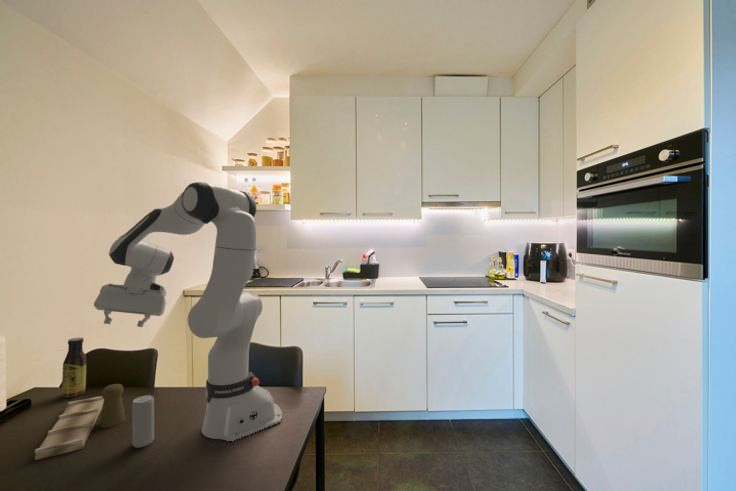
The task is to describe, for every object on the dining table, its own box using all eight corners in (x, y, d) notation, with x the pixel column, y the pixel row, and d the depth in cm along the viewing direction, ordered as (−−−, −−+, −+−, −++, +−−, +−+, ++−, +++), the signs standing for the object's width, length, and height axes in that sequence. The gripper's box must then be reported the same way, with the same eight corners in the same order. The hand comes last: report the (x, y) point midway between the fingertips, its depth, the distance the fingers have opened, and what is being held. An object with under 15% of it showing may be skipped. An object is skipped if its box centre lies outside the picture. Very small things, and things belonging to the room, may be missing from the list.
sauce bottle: (57, 398, 112) (56, 340, 111) (76, 389, 118) (76, 335, 118) (72, 399, 111) (72, 341, 110) (91, 391, 117) (91, 336, 117)
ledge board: (104, 402, 108) (104, 395, 108) (82, 448, 84) (82, 439, 84) (68, 409, 104) (69, 402, 104) (35, 460, 80) (35, 450, 80)
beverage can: (134, 440, 88) (134, 396, 88) (155, 436, 90) (155, 393, 90) (129, 450, 84) (129, 404, 84) (151, 446, 86) (151, 401, 85)
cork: (111, 428, 93) (111, 391, 93) (94, 426, 95) (94, 389, 94) (130, 417, 99) (130, 382, 99) (114, 415, 100) (114, 380, 100)
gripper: (101, 279, 110) (82, 318, 102) (168, 287, 116) (156, 325, 109) (106, 286, 115) (89, 324, 107) (170, 294, 121) (158, 330, 114)
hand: (123, 325), depth 108 cm, fingers open, 8 cm apart
